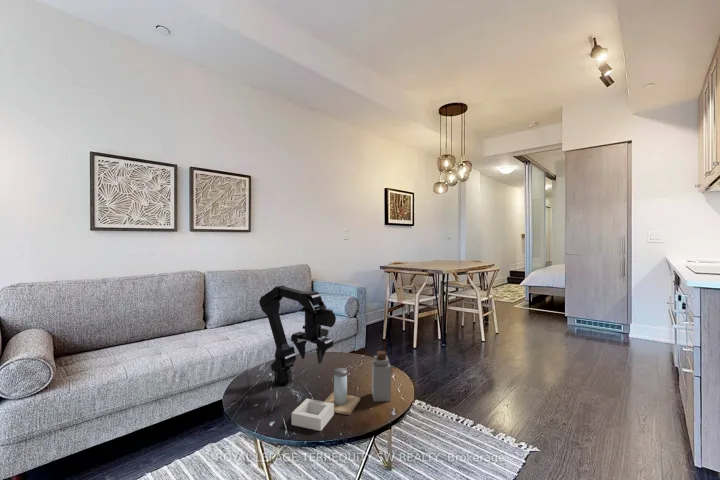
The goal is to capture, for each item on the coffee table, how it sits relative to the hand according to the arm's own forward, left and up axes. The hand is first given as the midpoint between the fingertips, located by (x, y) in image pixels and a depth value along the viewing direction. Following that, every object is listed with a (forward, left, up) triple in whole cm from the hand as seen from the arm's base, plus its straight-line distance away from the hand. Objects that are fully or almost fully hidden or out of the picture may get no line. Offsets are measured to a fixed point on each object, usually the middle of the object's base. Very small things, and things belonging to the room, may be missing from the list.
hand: (311, 361), depth 140 cm
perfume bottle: (+28, +6, -13) cm, 32 cm away
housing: (+10, -18, -13) cm, 24 cm away
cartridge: (+15, -5, -12) cm, 20 cm away
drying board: (+15, -5, -13) cm, 20 cm away
